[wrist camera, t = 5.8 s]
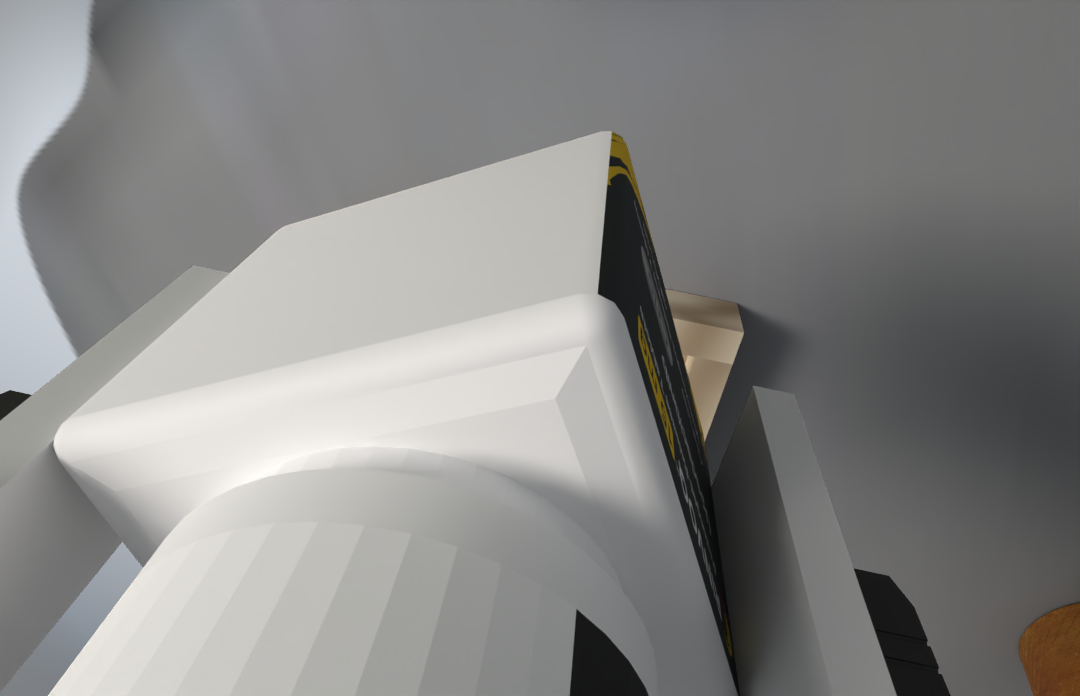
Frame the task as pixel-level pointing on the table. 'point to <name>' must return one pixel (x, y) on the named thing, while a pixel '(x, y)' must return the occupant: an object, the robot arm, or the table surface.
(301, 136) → the table surface
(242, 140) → the table surface
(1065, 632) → the disposable coffee cup
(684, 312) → the tray
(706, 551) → the medicine bottle
